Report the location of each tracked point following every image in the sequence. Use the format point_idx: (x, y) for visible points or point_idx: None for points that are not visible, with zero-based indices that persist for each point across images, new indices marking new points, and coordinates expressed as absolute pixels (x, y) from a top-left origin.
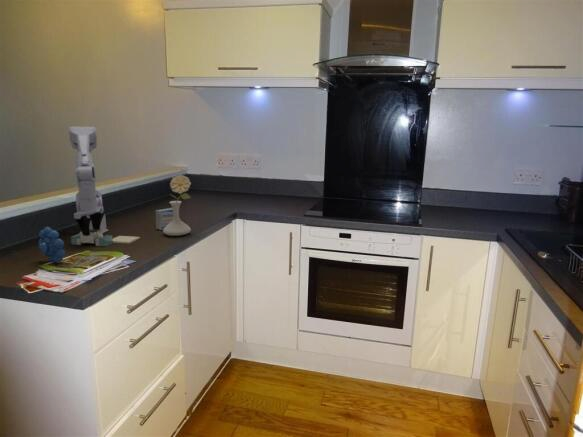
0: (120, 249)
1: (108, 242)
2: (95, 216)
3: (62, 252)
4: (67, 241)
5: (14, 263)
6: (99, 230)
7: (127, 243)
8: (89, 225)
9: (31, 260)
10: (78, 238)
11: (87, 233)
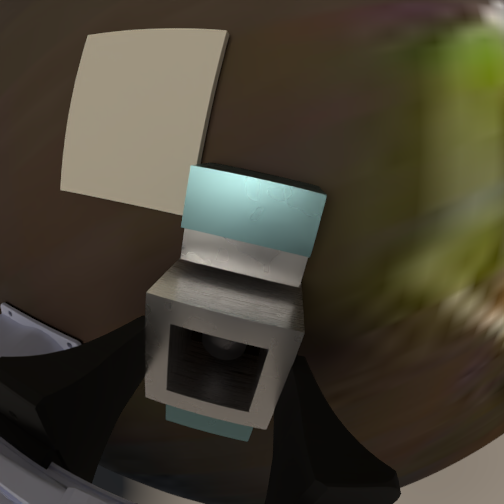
0: (393, 49)
1: (270, 175)
2: (77, 436)
3: None
4: (195, 430)
5: (486, 436)
6: (192, 306)
7: (226, 45)
8: (302, 416)
9: (480, 418)
10: None
11: (308, 373)
